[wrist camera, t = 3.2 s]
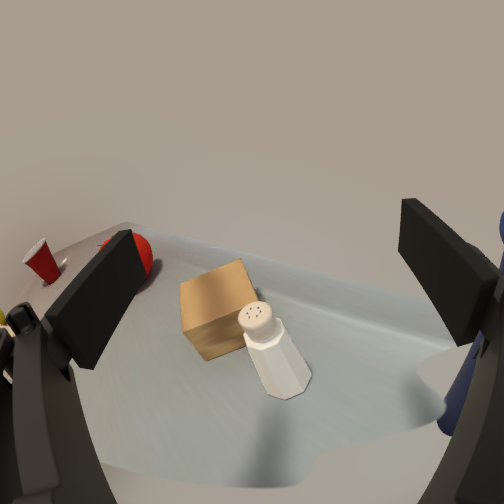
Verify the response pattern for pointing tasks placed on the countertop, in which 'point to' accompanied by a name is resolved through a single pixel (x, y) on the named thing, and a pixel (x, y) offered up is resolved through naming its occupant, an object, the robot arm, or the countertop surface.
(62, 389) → the robot arm
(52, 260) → the plastic cup
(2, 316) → the lemon
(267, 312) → the salt shaker
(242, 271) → the wood block
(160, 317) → the countertop surface
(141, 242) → the tomato
